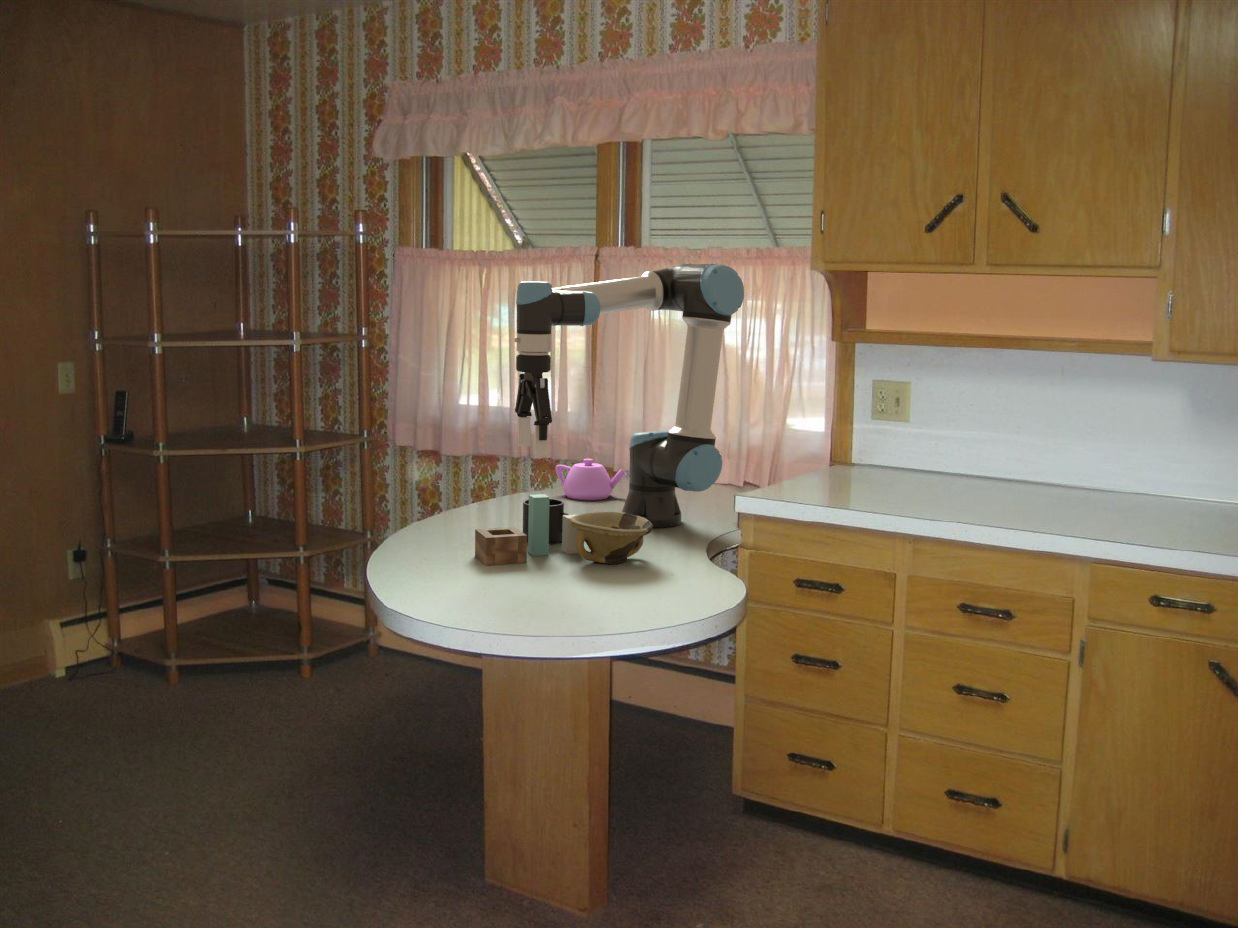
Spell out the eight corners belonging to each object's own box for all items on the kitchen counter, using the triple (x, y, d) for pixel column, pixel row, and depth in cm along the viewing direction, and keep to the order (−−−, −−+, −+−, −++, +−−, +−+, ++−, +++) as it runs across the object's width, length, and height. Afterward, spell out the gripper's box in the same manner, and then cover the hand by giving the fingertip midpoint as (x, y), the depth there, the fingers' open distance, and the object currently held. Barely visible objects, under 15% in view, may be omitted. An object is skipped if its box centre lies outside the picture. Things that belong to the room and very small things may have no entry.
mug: (565, 547, 274) (566, 508, 273) (516, 542, 278) (516, 504, 276) (579, 539, 283) (579, 501, 282) (531, 534, 286) (532, 497, 285)
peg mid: (577, 549, 273) (577, 514, 271) (582, 552, 269) (583, 517, 268) (562, 550, 271) (562, 515, 270) (567, 553, 268) (567, 518, 267)
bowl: (592, 574, 250) (593, 529, 248) (556, 555, 266) (557, 513, 264) (666, 567, 258) (667, 523, 257) (627, 549, 274) (628, 508, 272)
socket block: (514, 553, 267) (514, 526, 266) (526, 562, 259) (527, 535, 258) (475, 555, 264) (475, 529, 263) (486, 565, 255) (486, 537, 254)
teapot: (622, 503, 329) (623, 464, 327) (550, 499, 331) (551, 461, 330) (628, 494, 343) (629, 457, 341) (559, 490, 345) (560, 453, 343)
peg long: (543, 551, 270) (544, 494, 268) (548, 554, 266) (549, 497, 264) (528, 552, 268) (528, 494, 266) (532, 555, 265) (533, 497, 263)
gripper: (501, 349, 271) (501, 443, 275) (533, 357, 248) (531, 459, 252) (534, 349, 274) (532, 442, 277) (567, 357, 251) (566, 458, 254)
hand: (532, 450), depth 265 cm, fingers open, 13 cm apart
